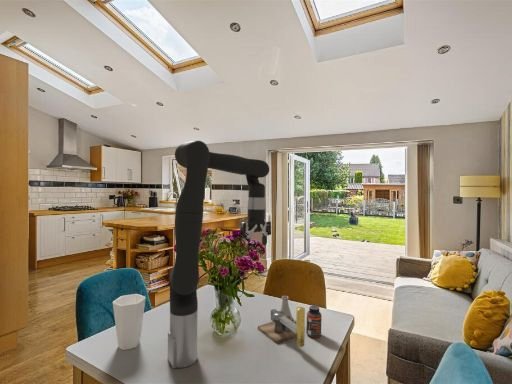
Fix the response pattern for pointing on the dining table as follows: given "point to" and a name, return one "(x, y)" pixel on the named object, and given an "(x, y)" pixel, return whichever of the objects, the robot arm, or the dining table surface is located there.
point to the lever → (292, 323)
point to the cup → (128, 320)
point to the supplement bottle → (313, 322)
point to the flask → (285, 306)
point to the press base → (274, 335)
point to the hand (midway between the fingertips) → (255, 246)
